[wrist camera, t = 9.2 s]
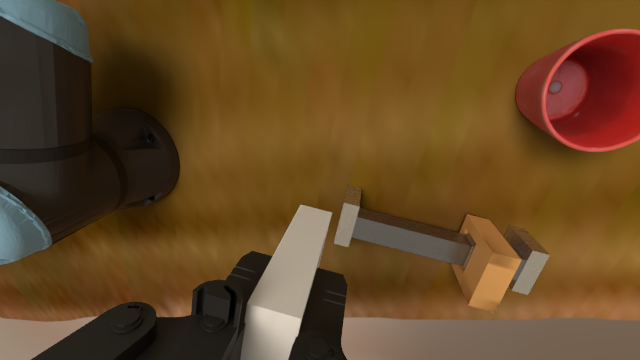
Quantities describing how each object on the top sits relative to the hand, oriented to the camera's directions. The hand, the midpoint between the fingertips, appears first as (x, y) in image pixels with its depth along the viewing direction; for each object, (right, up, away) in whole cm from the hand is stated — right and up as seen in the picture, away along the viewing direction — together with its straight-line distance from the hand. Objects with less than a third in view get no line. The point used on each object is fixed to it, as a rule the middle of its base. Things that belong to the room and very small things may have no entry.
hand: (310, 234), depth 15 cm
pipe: (+16, -4, +30) cm, 34 cm away
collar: (+21, -6, +28) cm, 36 cm away
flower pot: (+28, +13, +22) cm, 38 cm away
